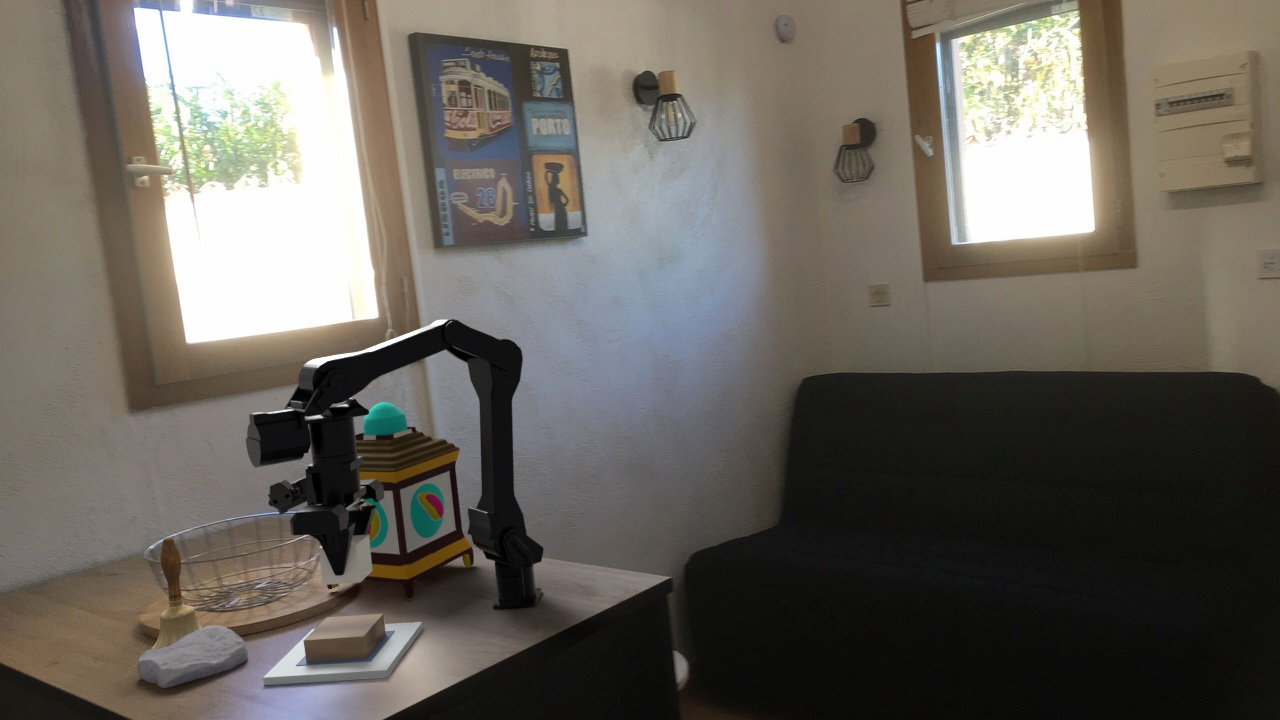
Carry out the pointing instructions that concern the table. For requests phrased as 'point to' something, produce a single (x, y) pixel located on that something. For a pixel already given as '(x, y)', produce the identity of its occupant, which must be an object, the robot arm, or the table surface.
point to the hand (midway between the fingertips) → (346, 568)
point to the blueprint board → (348, 668)
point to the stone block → (193, 657)
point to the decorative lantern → (410, 500)
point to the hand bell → (174, 601)
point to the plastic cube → (349, 563)
